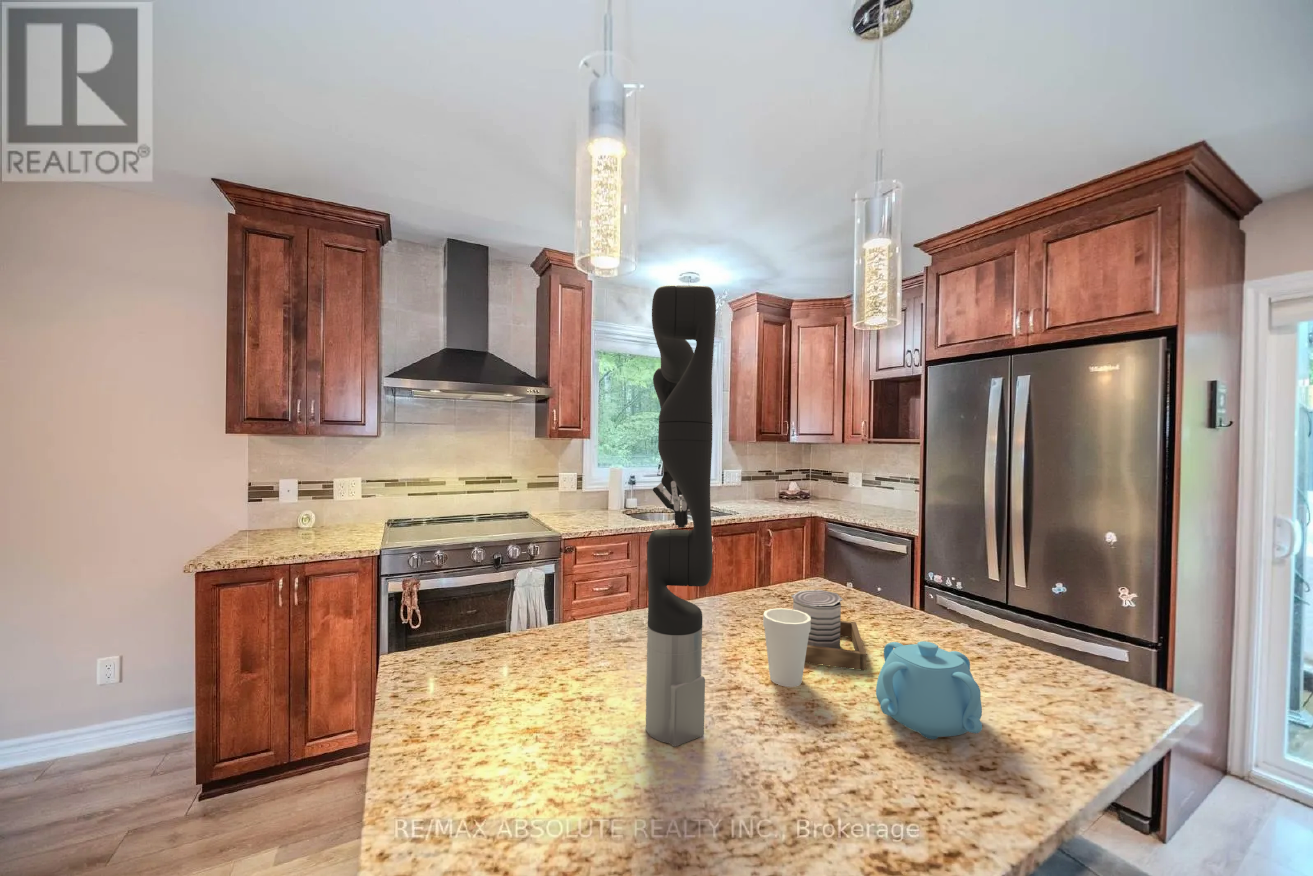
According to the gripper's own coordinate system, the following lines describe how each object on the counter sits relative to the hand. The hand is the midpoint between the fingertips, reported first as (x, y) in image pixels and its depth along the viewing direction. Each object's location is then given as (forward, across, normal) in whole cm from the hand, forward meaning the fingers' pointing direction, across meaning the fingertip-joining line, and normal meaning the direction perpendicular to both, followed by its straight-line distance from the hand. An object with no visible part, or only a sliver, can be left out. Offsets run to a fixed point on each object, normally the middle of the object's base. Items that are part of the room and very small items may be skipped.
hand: (681, 527), depth 116 cm
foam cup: (+31, +21, -7) cm, 38 cm away
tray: (+30, +29, +12) cm, 44 cm away
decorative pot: (+33, +44, -18) cm, 58 cm away
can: (+30, +30, +13) cm, 44 cm away
